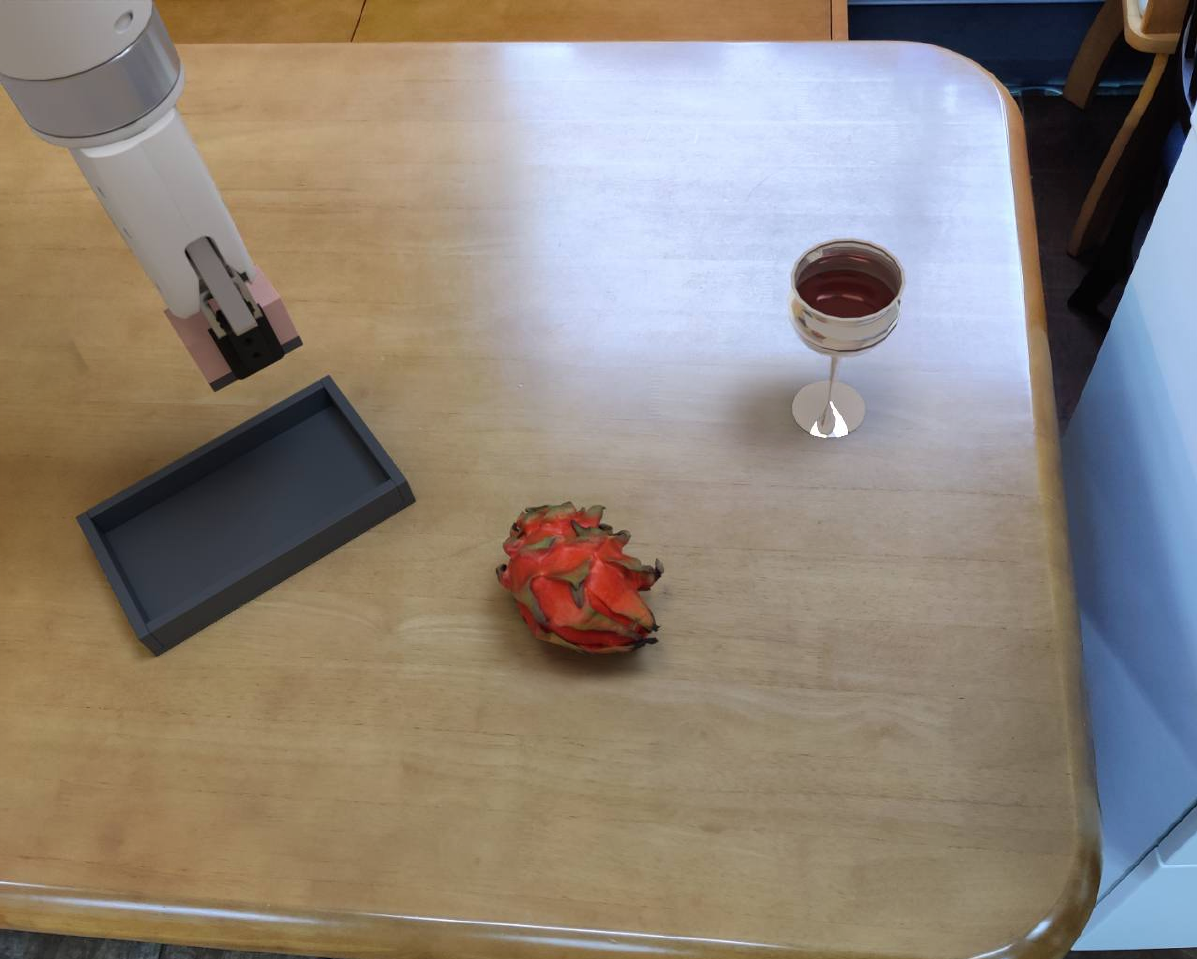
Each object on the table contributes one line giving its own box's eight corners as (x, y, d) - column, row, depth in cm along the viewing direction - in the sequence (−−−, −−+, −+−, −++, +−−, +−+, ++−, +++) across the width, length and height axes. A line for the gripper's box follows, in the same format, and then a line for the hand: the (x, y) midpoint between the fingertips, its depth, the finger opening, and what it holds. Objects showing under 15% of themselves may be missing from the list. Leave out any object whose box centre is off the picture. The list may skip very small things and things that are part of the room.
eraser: (214, 393, 63) (185, 347, 59) (192, 357, 64) (162, 310, 61) (304, 345, 64) (280, 297, 60) (279, 311, 65) (255, 262, 62)
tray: (156, 657, 68) (138, 639, 66) (93, 536, 73) (74, 516, 71) (416, 501, 72) (407, 480, 70) (339, 396, 77) (328, 374, 75)
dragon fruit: (528, 552, 71) (655, 674, 68) (441, 588, 64) (576, 725, 61) (581, 456, 66) (720, 582, 63) (492, 484, 59) (643, 627, 56)
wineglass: (760, 393, 74) (768, 263, 63) (846, 356, 74) (867, 222, 64) (809, 463, 70) (826, 338, 60) (898, 424, 71) (929, 294, 61)
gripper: (-42, 14, 50) (139, 294, 66) (74, 202, 43) (246, 465, 59) (103, -49, 52) (246, 240, 68) (239, 122, 45) (363, 400, 61)
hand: (245, 342), depth 63 cm, fingers closed on eraser, 3 cm apart
